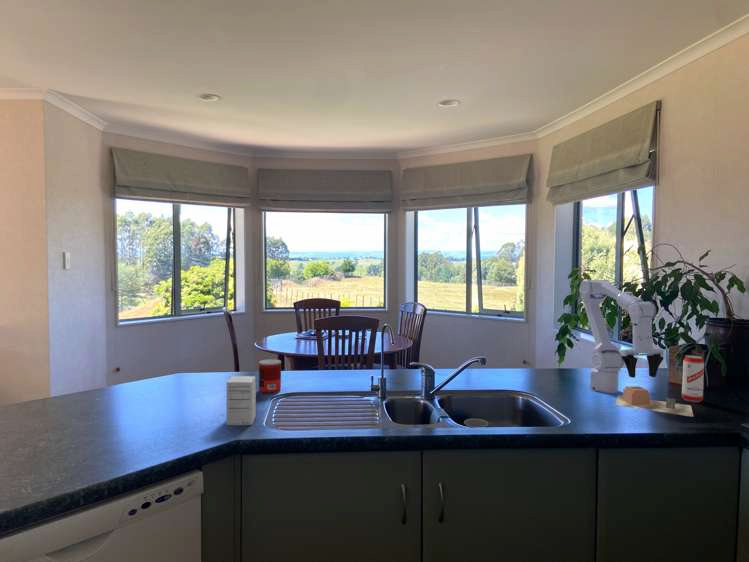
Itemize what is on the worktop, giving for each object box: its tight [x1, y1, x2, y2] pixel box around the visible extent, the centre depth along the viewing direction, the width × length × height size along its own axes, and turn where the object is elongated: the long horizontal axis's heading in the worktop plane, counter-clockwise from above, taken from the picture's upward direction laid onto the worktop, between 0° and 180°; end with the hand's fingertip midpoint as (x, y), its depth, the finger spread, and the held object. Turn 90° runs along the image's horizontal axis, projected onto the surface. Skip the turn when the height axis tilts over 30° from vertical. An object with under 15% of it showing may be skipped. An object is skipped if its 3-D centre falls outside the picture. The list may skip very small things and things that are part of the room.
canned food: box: [258, 358, 282, 395], centre depth 170 cm, size 8×8×11 cm
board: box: [614, 395, 694, 418], centre depth 158 cm, size 22×14×4 cm, turn 59°
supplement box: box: [226, 375, 257, 426], centre depth 138 cm, size 7×7×13 cm
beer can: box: [681, 354, 705, 403], centre depth 169 cm, size 6×6×16 cm
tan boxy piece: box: [622, 385, 651, 405], centre depth 160 cm, size 6×5×5 cm
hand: (642, 376), depth 159 cm, fingers open, 7 cm apart
